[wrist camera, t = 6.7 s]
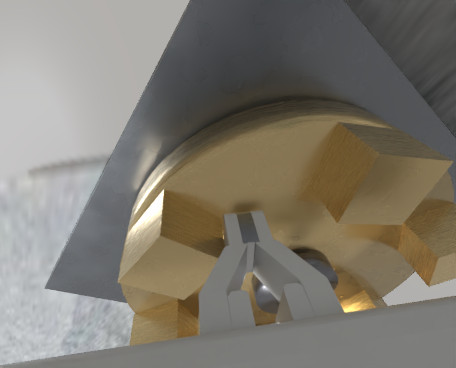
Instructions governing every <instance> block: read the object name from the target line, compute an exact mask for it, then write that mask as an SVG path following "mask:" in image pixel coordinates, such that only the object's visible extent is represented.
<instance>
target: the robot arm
mask: <svg viewBox="0 0 456 368" xmlns="http://www.w3.org/2000/svg"><path fill="white" fill-rule="evenodd" d="M223 231H224V243H225V248H224V249H223V251H222V253H221V255H220V257H219V258H218V260H217V262H216V264H215V266H214V268H213V269H212V271H211V273H210V275H209V277H208V279H207V280H206V282H205V284H204V286H203V288H202V289H201V291H200V293H199V316H200V335H195V336H189V337H182V338H176V339H169V340H162V341H156V342H149V343H143V344H136V345H130V346H123V347H117V348H110V349H104V350H97V351H91V352H84V353H77V354H71V355H64V356H58V357H51V358H45V359H38V360H32V361H25V362H19V363H12V364H5V365H0V368H456V296H451V297H444V298H438V299H431V300H425V301H419V302H412V303H405V304H399V305H392V306H386V307H379V308H372V309H366V310H359V311H353V312H346V313H345V312H344V310H343V308H342V306H341V304H340V302H339V300H338V298H337V296H336V294H335V292H334V290H333V288H332V286H331V284H330V282H329V280H328V278H327V277H326V276H324V275H323V274H322V273H320V272H319V271H318V270H316V269H315V268H314V267H312V266H311V265H310V264H308V263H307V262H306V261H305V260H303V259H302V258H301V257H299V256H298V255H297V254H295V253H294V252H293V251H291V250H290V249H289V248H287V247H286V246H285V245H283V244H282V243H281V242H279V241H278V240H274V239H273V237H272V234H271V231H270V229H269V226H268V223H267V221H266V218H265V215H264V212H263V211H262V210H258V211H250V212H240V213H231V214H223ZM249 272H253V274H254V275H255V276H256V277H257V278H258V279H259V280H260V281H261V282H262V283H263V285H264V286H265V287H266V288H267V289H268V290H269V291H270V292H271V293H272V295H273V296H274V297H275V298H276V299H277V300H278V301H279V302H280V303H279V308H278V312H277V316H276V320H275V323H274V324H267V325H261V326H256V325H255V320H254V316H253V311H252V307H251V303H250V298H249V294H248V292H246V291H245V290H240V289H241V286H242V284H243V281H244V278H245V276H246V273H249Z"/></svg>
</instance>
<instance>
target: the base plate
mask: <svg viewBox="0 0 456 368" xmlns="http://www.w3.org/2000/svg"><path fill="white" fill-rule="evenodd" d="M309 99H310V100H324V101H335V102H339V103H344V104H348V105H352V106H356V107H358V108H361V109H363V110H366V111H368V112H370V113H373V114H375V115H376V116H378V117H380V118H381V119H383V120H385V121H386V122H388V123H390V124H391V125H393V126H395V127H396V128H398V129H400V130H402V131H404V132H405V133H407V134H409V135H410V136H412V137H414V138H416V139H417V140H419V141H421V142H422V143H424V144H426V145H427V146H429V147H431V148H432V149H434V150H436V151H437V152H439V153H441V154H442V155H444V156H446V157H447V158H449V159H451V160H452V161H454V162H453V163H452V165H451V166H450V167H449V168H448V169H447V170H448V172H449V174H450V176H451V180H452V185H453V190H454V202H453V204H455V203H456V138H455V137H454V135H453V134H452V133H451V132H450V131H449V129H448V128H447V127H446V126H445V124H444V123H443V122H442V121H441V119H440V118H439V117H438V116H437V115H436V113H435V112H434V111H433V110H432V108H431V107H430V106H429V105H428V103H427V102H426V101H425V100H424V98H423V97H422V96H421V95H420V94H419V92H418V91H417V90H416V89H415V87H414V86H413V85H412V84H411V82H410V81H409V80H408V79H407V78H406V76H405V75H404V74H403V73H402V71H401V70H400V69H399V68H398V66H397V65H396V64H395V63H394V61H393V60H392V59H391V58H390V57H389V55H388V54H387V53H386V52H385V50H384V49H383V48H382V47H381V45H380V44H379V43H378V42H377V41H376V39H375V38H374V37H373V36H372V34H371V33H370V32H369V31H368V29H367V28H366V27H365V26H364V24H363V23H362V22H361V21H360V20H359V18H358V17H357V16H356V15H355V13H354V12H353V11H352V10H351V8H350V7H349V6H348V5H347V3H346V2H345V1H344V0H190V1H189V3H188V5H187V7H186V9H185V11H184V13H183V15H182V17H181V19H180V21H179V23H178V25H177V27H176V29H175V31H174V33H173V35H172V37H171V39H170V41H169V42H168V45H167V47H166V48H165V50H164V52H163V54H162V56H161V58H160V60H159V62H158V65H157V66H156V68H155V70H154V72H153V74H152V76H151V78H150V80H149V82H148V84H147V86H146V88H145V90H144V92H143V94H142V96H141V98H140V100H139V102H138V103H137V105H136V108H135V110H134V111H133V113H132V115H131V117H130V119H129V121H128V123H127V125H126V127H125V129H124V131H123V133H122V135H121V137H120V139H119V141H118V143H117V145H116V147H115V149H114V151H113V153H112V155H111V157H110V159H109V161H108V162H107V164H106V166H105V168H104V170H103V172H102V174H101V176H100V178H99V180H98V182H97V184H96V186H95V188H94V190H93V192H92V194H91V196H90V198H89V200H88V202H87V204H86V206H85V208H84V210H83V212H82V214H81V216H80V218H79V220H78V221H77V223H76V225H75V227H74V229H73V231H72V233H71V235H70V237H69V239H68V241H67V243H66V245H65V247H64V249H63V251H62V253H61V255H60V257H59V259H58V261H57V263H56V265H55V267H54V269H53V271H52V273H51V276H50V278H49V280H48V282H47V284H46V286H45V289H51V290H57V291H62V292H68V293H74V294H79V295H85V296H91V297H96V298H102V299H108V300H113V301H119V302H125V303H127V301H126V299H125V297H124V295H123V292H122V287H121V283H117V282H118V277H119V273H120V263H121V258H122V254H123V249H124V245H125V240H126V235H127V231H128V226H129V222H130V218H131V213H132V209H133V206H134V204H135V201H136V199H137V197H138V194H139V192H140V190H141V188H142V187H143V185H144V184H145V182H146V181H147V179H148V178H149V176H150V175H151V173H152V172H153V171H154V170H155V169H156V168H157V167H158V165H159V164H160V163H161V162H162V161H163V160H164V159H165V158H166V157H167V156H168V155H169V154H170V153H171V152H172V151H174V150H175V149H176V148H177V147H178V146H180V145H181V144H182V143H183V142H184V141H186V140H187V139H189V138H190V137H192V136H193V135H195V134H197V133H198V132H200V131H201V130H203V129H204V128H206V127H208V126H210V125H212V124H214V123H216V122H218V121H220V120H222V119H224V118H226V117H229V116H231V115H233V114H236V113H239V112H242V111H245V110H248V109H251V108H254V107H257V106H262V105H267V104H272V103H277V102H282V101H294V100H309Z"/></svg>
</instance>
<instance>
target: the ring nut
mask: <svg viewBox="0 0 456 368" xmlns="http://www.w3.org/2000/svg"><path fill="white" fill-rule="evenodd" d="M453 162H454V161H452V160H451V159H449V158H447V157H446V156H444V155H442V154H441V153H439V152H437V151H436V150H434V149H432V148H431V147H429V146H427V145H426V144H424V143H422V142H421V141H419V140H417V139H416V138H414V137H412V136H410V135H409V134H407V133H405V132H404V131H402V130H400V129H398V128H396V127H395V126H393V125H391V124H390V123H388V122H386V121H385V120H383V119H381V118H380V117H378V116H376V115H375V114H373V113H370V112H368V111H366V110H363V109H361V108H358V107H356V106H352V105H348V104H344V103H339V102H335V101H324V100H310V99H309V100H294V101H282V102H277V103H272V104H267V105H262V106H257V107H254V108H251V109H248V110H245V111H242V112H239V113H236V114H233V115H231V116H229V117H226V118H224V119H222V120H220V121H218V122H216V123H214V124H212V125H210V126H208V127H206V128H204V129H203V130H201V131H200V132H198V133H197V134H195V135H193V136H192V137H190V138H189V139H187V140H186V141H184V142H183V143H182V144H181V145H180V146H178V147H177V148H176V149H175V150H174V151H172V152H171V153H170V154H169V155H168V156H167V157H166V158H165V159H164V160H163V161H162V162H161V163H160V164H159V165H158V167H157V168H156V169H155V170H154V171H153V172H152V173H151V175H150V176H149V178H148V179H147V181H146V182H145V184H144V185H143V187H142V188H141V190H140V192H139V194H138V197H137V199H136V201H135V204H134V206H133V209H132V213H131V218H130V222H129V226H128V231H127V235H126V240H125V245H124V249H123V254H122V258H121V263H120V273H119V277H118V282H117V283H121V287H122V292H123V295H124V297H125V299H126V301H127V303H128V305H129V306H130V307H131V309H132V310H133V311H134V312H135V313H136V314H134V318H133V325H132V332H131V339H130V345H136V344H143V343H149V342H156V341H162V340H169V339H176V338H182V337H189V336H195V335H200V316H199V293H200V291H201V289H202V288H203V286H204V284H205V282H206V280H207V279H208V277H209V275H210V273H211V271H212V269H213V268H214V266H215V264H216V262H217V260H218V258H219V257H220V255H221V253H222V251H223V249H224V248H225V243H224V231H223V214H231V213H240V212H250V211H258V210H262V211H263V212H264V215H265V218H266V221H267V223H268V226H269V229H270V231H271V234H272V237H273V239H274V240H278V241H279V242H281V243H282V244H283V245H285V246H286V247H287V248H289V249H290V250H291V251H293V252H294V253H295V254H297V255H298V256H299V257H301V258H302V259H303V260H305V261H306V262H307V263H308V264H310V265H311V266H312V267H314V268H315V269H316V270H318V271H319V272H320V273H322V274H323V275H324V276H326V277H327V278H328V280H329V282H330V284H331V286H332V288H333V290H334V292H335V294H336V296H337V298H338V300H339V302H340V304H341V306H342V308H343V310H344V312H345V313H346V312H353V311H359V310H366V309H372V308H379V307H386V306H387V305H386V303H385V302H384V300H383V299H382V297H384V296H385V295H387V294H388V293H389V292H391V291H392V290H394V289H395V288H396V287H397V286H399V285H400V284H401V283H403V282H404V281H405V280H406V279H407V278H408V277H409V276H411V275H412V274H413V273H414V272H415V271H416V272H417V274H418V275H419V276H420V277H421V278H422V279H423V280H424V282H425V283H426V284H427V285H428V286H429V287H430V286H432V285H436V284H439V283H442V282H445V281H448V280H451V279H454V278H456V203H455V204H453V202H454V190H453V185H452V180H451V176H450V174H449V172H448V170H447V169H448V168H449V167H450V166H451V165H452V163H453ZM240 290H245V291H246V292H248V294H249V298H250V303H251V307H252V311H253V316H254V320H255V325H256V326H261V325H267V324H274V323H275V320H276V316H277V312H278V308H279V303H280V302H279V301H278V300H277V299H276V298H275V297H274V296H273V295H272V293H271V292H270V291H269V290H268V289H267V288H266V287H265V286H264V285H263V283H262V282H261V281H260V280H259V279H258V278H257V277H256V276H255V275H254V274H253V272H249V273H246V276H245V278H244V281H243V284H242V286H241V289H240Z"/></svg>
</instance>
